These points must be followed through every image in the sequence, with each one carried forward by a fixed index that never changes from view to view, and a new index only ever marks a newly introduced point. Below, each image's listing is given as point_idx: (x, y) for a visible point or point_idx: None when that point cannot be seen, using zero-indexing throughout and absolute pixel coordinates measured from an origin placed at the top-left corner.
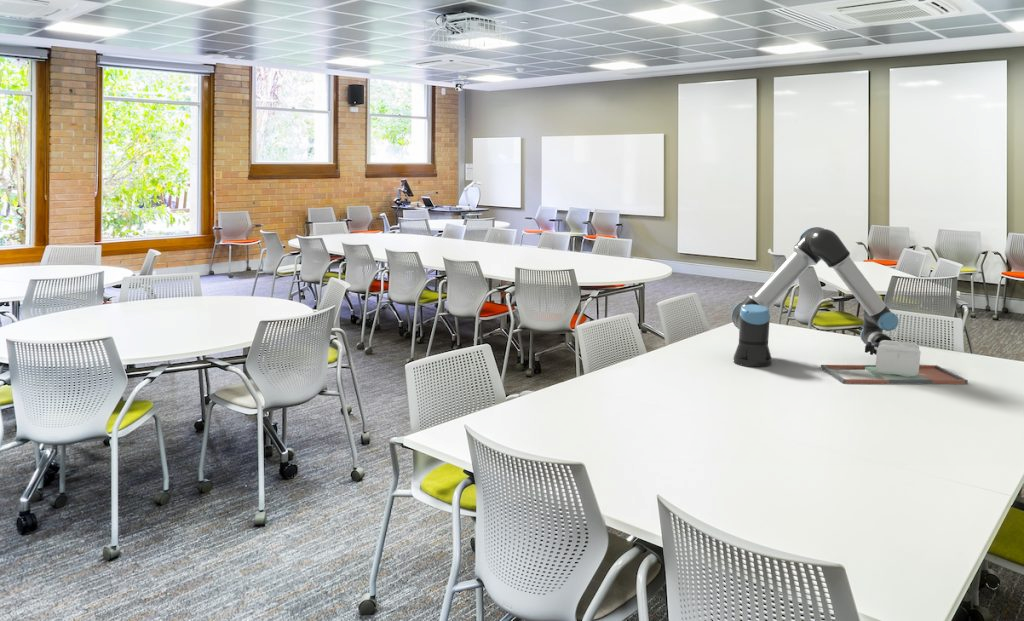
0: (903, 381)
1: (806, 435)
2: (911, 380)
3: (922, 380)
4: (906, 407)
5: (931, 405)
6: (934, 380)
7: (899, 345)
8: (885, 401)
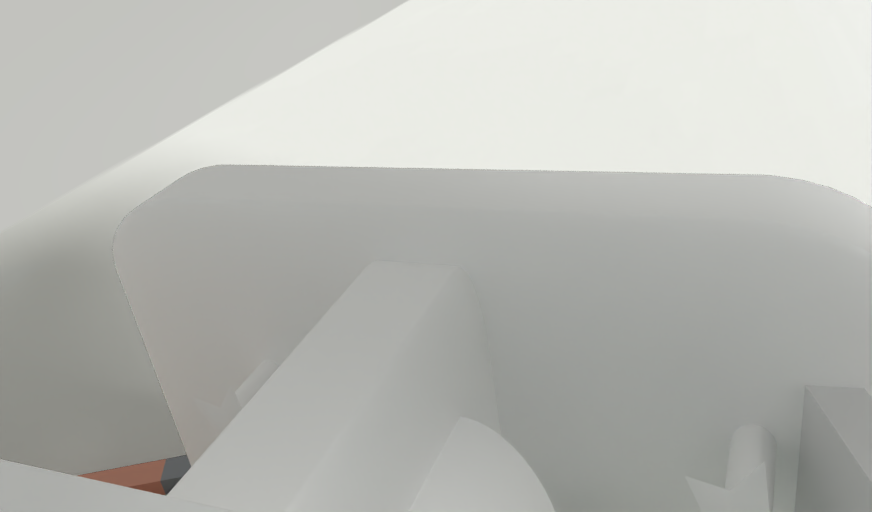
0: None
1: None
2: None
3: None
4: (607, 99)
5: (471, 137)
6: (143, 466)
7: (280, 470)
8: (708, 121)
